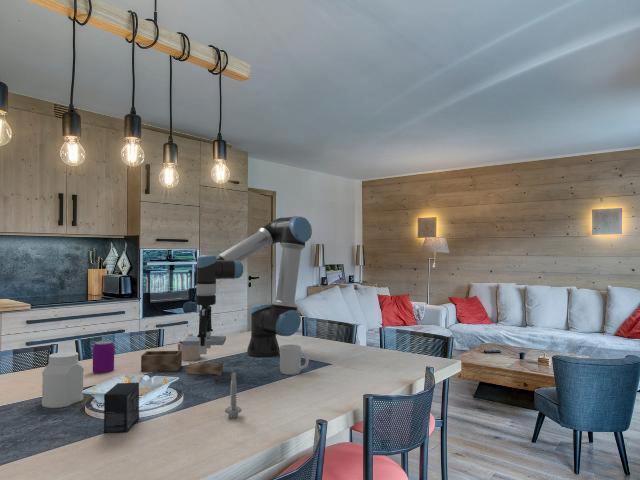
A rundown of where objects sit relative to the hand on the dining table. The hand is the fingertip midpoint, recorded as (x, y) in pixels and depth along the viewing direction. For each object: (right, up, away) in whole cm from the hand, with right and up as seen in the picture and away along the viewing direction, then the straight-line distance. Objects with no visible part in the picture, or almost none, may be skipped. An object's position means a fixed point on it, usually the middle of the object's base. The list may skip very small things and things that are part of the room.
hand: (204, 351), depth 180 cm
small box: (-10, -8, -53) cm, 55 cm away
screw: (+20, -8, -46) cm, 51 cm away
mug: (+35, -9, +2) cm, 36 cm away
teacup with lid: (-13, -10, +23) cm, 28 cm away
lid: (0, +3, 0) cm, 3 cm away
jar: (-37, -8, -34) cm, 51 cm away
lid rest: (0, -9, 0) cm, 9 cm away
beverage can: (-40, -9, +1) cm, 41 cm away
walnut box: (-18, -9, +5) cm, 21 cm away
